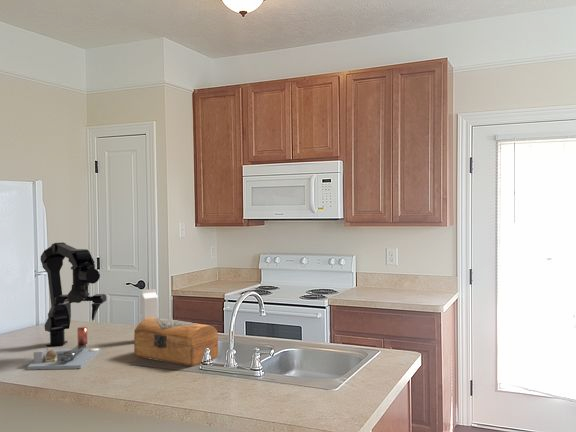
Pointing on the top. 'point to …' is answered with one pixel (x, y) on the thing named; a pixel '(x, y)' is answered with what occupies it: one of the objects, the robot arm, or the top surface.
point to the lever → (81, 345)
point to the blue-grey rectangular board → (73, 363)
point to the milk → (149, 304)
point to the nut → (51, 355)
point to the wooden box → (174, 341)
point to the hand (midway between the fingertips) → (81, 320)
